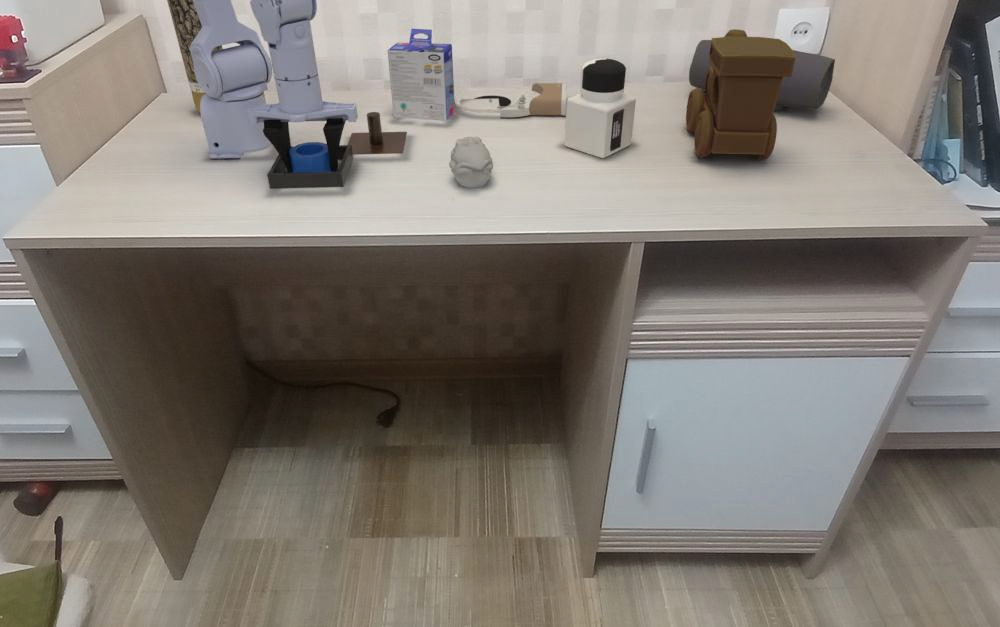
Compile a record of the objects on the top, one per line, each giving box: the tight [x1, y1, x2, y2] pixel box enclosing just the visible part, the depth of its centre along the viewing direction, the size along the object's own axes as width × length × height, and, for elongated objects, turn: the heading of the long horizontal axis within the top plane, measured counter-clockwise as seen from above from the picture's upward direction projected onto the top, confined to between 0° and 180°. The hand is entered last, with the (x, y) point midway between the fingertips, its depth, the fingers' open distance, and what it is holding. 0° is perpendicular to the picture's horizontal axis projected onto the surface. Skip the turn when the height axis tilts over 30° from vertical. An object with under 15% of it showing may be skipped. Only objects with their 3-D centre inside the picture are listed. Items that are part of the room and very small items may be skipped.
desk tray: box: [266, 144, 354, 190], centre depth 102 cm, size 10×10×3 cm
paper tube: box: [166, 0, 224, 114], centre depth 120 cm, size 7×7×25 cm
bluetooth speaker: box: [688, 39, 836, 111], centre depth 124 cm, size 23×9×10 cm, turn 55°
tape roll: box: [289, 141, 331, 173], centre depth 101 cm, size 6×6×4 cm
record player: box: [454, 82, 567, 118], centre depth 126 cm, size 12×3×20 cm
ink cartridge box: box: [387, 28, 456, 121], centre depth 118 cm, size 10×6×14 cm, turn 78°
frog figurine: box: [448, 136, 494, 189], centre depth 98 cm, size 6×7×7 cm
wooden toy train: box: [685, 29, 796, 160], centre depth 106 cm, size 20×11×17 cm, turn 175°
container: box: [564, 58, 637, 159], centre depth 108 cm, size 8×8×13 cm
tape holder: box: [347, 111, 408, 156], centre depth 110 cm, size 9×9×6 cm
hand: (313, 169), depth 102 cm, fingers closed on tape roll, 5 cm apart
